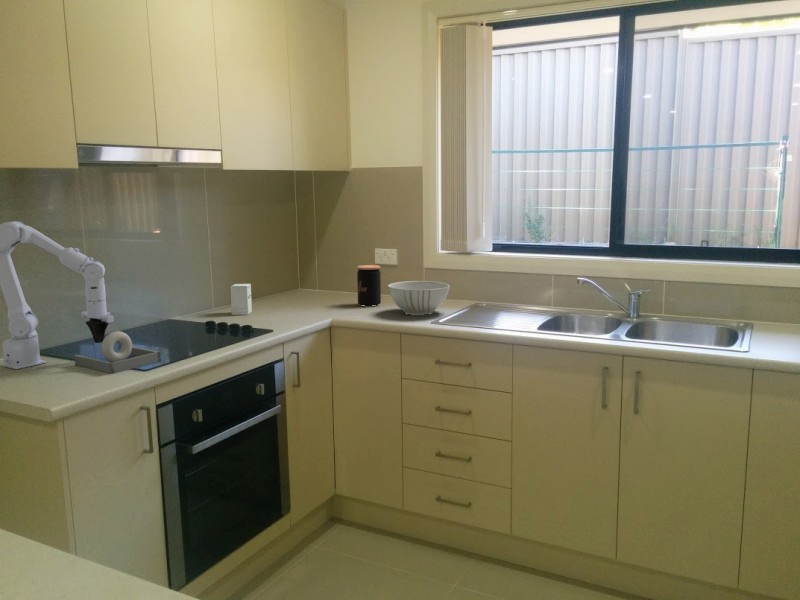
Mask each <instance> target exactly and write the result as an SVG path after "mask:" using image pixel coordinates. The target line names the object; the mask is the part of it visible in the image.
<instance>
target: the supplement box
mask: <svg viewBox="0 0 800 600" xmlns="http://www.w3.org/2000/svg"><path fill="white" fill-rule="evenodd" d="M252 302H253V301H252V283H235V284H233V285H230V304H231V307H230V309H231V315H232V316H240V315H241V316H247V315H249V314H251V313H252V311H253V309H252V308H253V305H252V304H253V303H252Z"/></svg>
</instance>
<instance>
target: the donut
mask: <svg viewBox="0 0 800 600" xmlns="http://www.w3.org/2000/svg"><path fill="white" fill-rule="evenodd" d="M116 343H119V344H120V348H119V350H118V351H117V352H116V351H115V349H114V346H115V344H116ZM132 346H133V342H132V339H131V338H130V336H129V335H128V334H127V333H126V332H123V331H120V330H116V331H112V332H110V333H108V334H107V335H106V336H104V340H103V342H101V353H102V356H103V357H104V358H105V360H106V361H107V362H111V363H113V362H117V361H121V360H125V359H129V358H130V356H129V355H130V354H131V351H132Z"/></svg>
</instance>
